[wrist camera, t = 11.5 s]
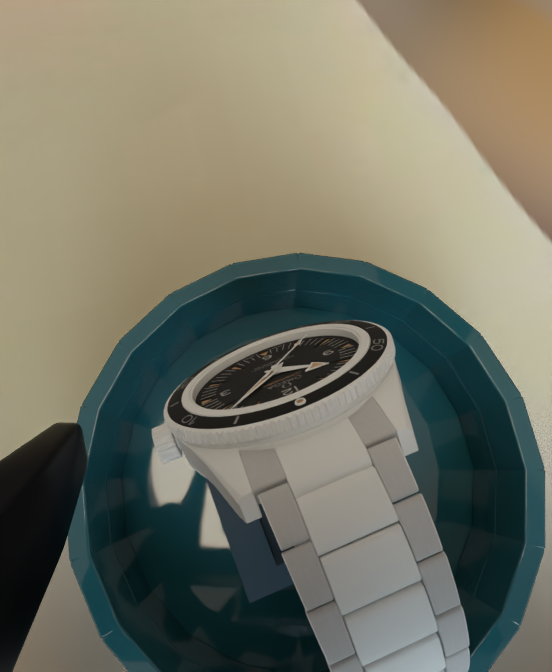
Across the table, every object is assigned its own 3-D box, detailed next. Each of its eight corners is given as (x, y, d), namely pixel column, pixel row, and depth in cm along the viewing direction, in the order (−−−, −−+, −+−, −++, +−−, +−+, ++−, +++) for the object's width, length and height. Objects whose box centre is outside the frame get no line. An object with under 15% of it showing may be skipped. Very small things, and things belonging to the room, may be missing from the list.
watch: (327, 357, 20) (396, 222, 9) (419, 566, 18) (646, 712, 7) (189, 411, 19) (87, 336, 8) (269, 634, 17) (270, 907, 6)
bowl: (475, 712, 17) (546, 795, 13) (73, 653, 17) (8, 714, 13) (486, 323, 21) (545, 283, 16) (152, 279, 21) (121, 228, 17)
